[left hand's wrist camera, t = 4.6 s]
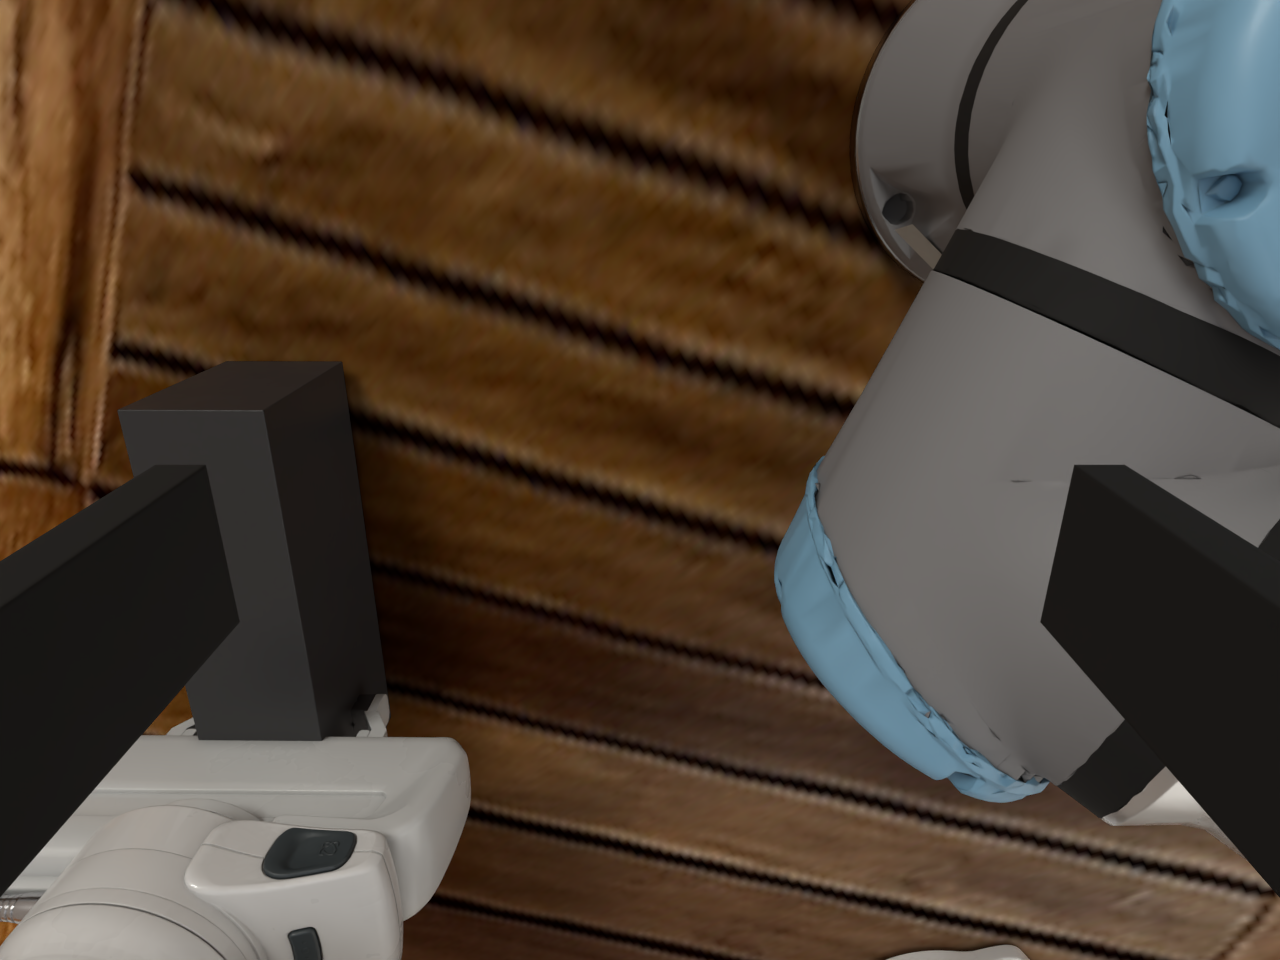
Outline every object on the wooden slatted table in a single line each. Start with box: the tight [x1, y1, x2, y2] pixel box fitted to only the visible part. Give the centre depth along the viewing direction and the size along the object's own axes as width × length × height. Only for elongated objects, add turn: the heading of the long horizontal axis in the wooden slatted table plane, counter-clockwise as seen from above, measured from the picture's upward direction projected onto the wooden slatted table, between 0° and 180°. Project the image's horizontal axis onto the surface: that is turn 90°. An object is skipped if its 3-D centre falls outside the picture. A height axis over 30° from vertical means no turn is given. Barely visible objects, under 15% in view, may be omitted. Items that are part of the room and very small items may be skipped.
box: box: [118, 361, 391, 741], centre depth 41 cm, size 22×6×9 cm, turn 0°
